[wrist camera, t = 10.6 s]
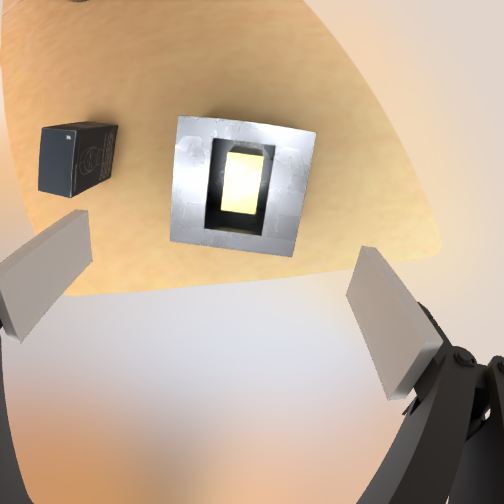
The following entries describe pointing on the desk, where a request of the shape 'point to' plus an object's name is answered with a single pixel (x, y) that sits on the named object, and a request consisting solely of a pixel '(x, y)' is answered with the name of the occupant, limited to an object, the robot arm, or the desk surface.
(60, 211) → the desk surface
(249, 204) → the yellow rectangular block
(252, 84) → the desk surface
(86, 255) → the robot arm
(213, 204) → the gray slotted cube
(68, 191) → the box
